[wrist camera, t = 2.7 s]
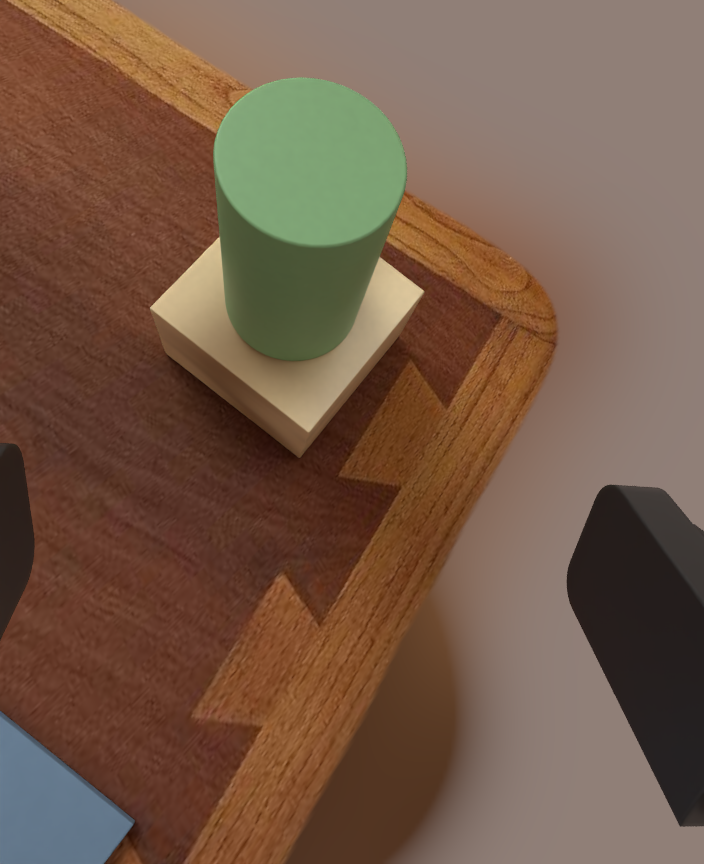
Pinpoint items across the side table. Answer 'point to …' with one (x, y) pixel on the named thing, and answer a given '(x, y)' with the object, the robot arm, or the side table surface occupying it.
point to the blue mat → (51, 807)
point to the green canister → (303, 211)
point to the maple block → (269, 377)
